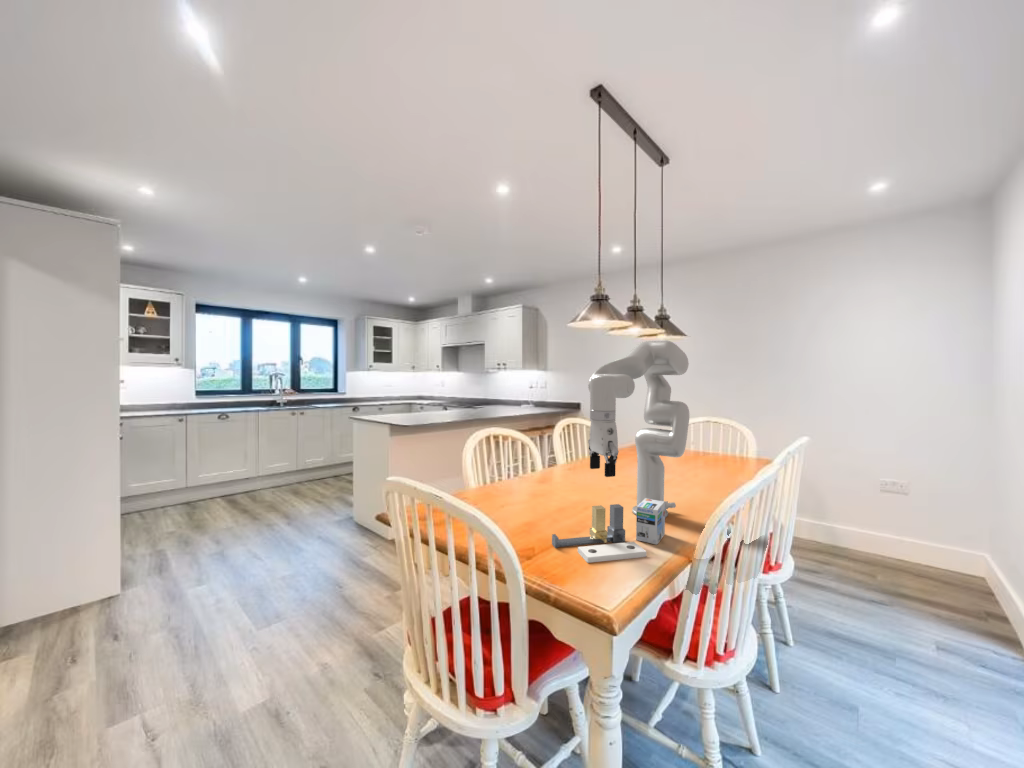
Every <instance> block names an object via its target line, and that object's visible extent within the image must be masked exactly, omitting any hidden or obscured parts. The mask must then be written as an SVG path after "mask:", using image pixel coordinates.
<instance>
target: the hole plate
mask: <svg viewBox="0 0 1024 768" xmlns="http://www.w3.org/2000/svg"><path fill="white" fill-rule="evenodd" d="M577 553H578V554H579V555H580V557H581V558H583V560H584V562H586V563H587V564H588V563H589V564H590V563H599V562H609V561H616V560H617V561H618V560H627V559H637V558H645V557H647V550H645V549H644V548H643V547H642V546H640V545H639V544H637V543H636V542H635V541H627V542H626V541H625V542H622V543H606V544H605V543H603V544H594V545H587V546H585V545H583V546H577Z"/></svg>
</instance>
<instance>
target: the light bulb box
mask: <svg viewBox="0 0 1024 768" xmlns="http://www.w3.org/2000/svg"><path fill="white" fill-rule="evenodd" d="M636 506H637V505H636ZM635 523H636V524H635V525H636V528H635V529H636V531H635V532H636V533H635V534H636V535H635V539H636V541H640V542H645V543H649V544H653V545H655V546H656V545H658V544H659V543H660V541H662V539H663V538H664V537H665V535H666V517H665V502H663V501H657V500H652V499H647V498H645V499H644V500H643V501H642V502H641V503H640V504H639V505H638V506H637V515H636V522H635Z"/></svg>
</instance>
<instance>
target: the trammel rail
mask: <svg viewBox="0 0 1024 768" xmlns="http://www.w3.org/2000/svg"><path fill="white" fill-rule="evenodd" d="M606 531H607V538H605V539H606V540H607V543H611V544H615V543H625V542H626V529H624V506H622V505H621V504H619V503H617V504H616V503H615V504H610V505H609V525H608V526H607V530H606ZM593 544H594V545H598V544H605V543H604V542H603V541H602V540H601V539H594V538H593V537H592V536H591V535H590V536H581V537H580V536H579V537H570V538H569V537H567V538H559V537H558V536H557V535H556V533H554V534H551V545H552V546H553V547H554V549H558V548H564V547H574V546H585V545H593Z"/></svg>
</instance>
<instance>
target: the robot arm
mask: <svg viewBox="0 0 1024 768" xmlns="http://www.w3.org/2000/svg"><path fill="white" fill-rule="evenodd" d="M689 364H690V363H689V359H688V356H687V354H686V353H685V351H683V350H682V348H681V347H680V346H678V345H677V344H676V343H674V342H673V341H670V340H648V341H647V340H646V341H642V342H640V343H638V344H636V346H635V347H634V348H632V350H630V352H629V353H627V355H626V356H623V357H621V358H618V359H616V360H613V361H611V362H608V363H605V364H604V365H602V366H600V367H599V368H598V369H596V370H595V371H594V372H593V374H592V375H591V376H590V378H589V380H588V382H587V383H588V384H587V388H588V391H589V395H590V396H589V398H590V399H589V421H590V428H589V439H588V440H587V441H588V442H587V443H588V449H589V452H588V453H589V469H590V470H596V469H598V470H599V469H600V468H601V456H604V460H605V462H604V477H605V478H610V477H616V464H617V460H618V455H619V445H618V442H619V441H618V430H617V429H618V428H617V423H616V416H617V415H616V411H617V410H616V409H617V408H616V407H617V405H616V404H617V403H616V401H617V399H626V398H630V396H632V394H633V393H634V391H635V387H636V385H635V381H634V380H635V379H640V378H641V377H643V376H644V379H645V382H646V386H647V388H646V389H647V392H646V396H645V397H646V399H645V404H644V409H643V420H644V422H645V423H646V424H648V425H651V426H656V427H657V426H658V427H669V428H671V429H663V428H653V427H644V428H640V429H639V430H638V431H637V432H636V433H635V436H634V437H635V438H634V443H635V447H636V448H635V449H636V455H637V457H636V458H637V468H636V469H637V470H636V471H637V472H636V473H637V475H636V476H637V477H636V480H637V481H636V505H635V506H632V509H631V510H632V513H633V514H634V515H635V516H637V506H638V505H639V504H640V503H641V502H642V501H643V500H644V499H645V498H647V499H652V500H657V501H663V502H665V518H667V517H668V516H669V511H668V509H675V508H676V507H677V506H676V502H674V501H673V502H669V501H666V500H665V470H666V469H665V465H664V463H663V459H662V458H661V457H668V458H669V457H670V458H681V457H682V456H683V455H684V453H685V451H686V447H687V439H688V431H689V424H690V409H689V407H688V405H687V404H686V403H685V402H683V401H679V400H671V395H672V387H671V385H670V383H669V382H668V380H667V379H666V378H665V376H681V375H685V373H686V372H687V371H688V368H689ZM660 456H661V457H660Z"/></svg>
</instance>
